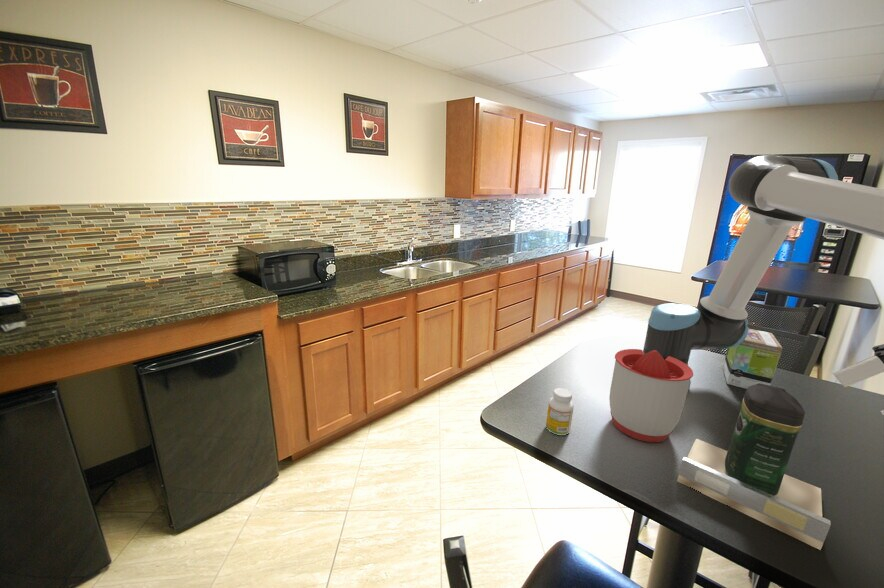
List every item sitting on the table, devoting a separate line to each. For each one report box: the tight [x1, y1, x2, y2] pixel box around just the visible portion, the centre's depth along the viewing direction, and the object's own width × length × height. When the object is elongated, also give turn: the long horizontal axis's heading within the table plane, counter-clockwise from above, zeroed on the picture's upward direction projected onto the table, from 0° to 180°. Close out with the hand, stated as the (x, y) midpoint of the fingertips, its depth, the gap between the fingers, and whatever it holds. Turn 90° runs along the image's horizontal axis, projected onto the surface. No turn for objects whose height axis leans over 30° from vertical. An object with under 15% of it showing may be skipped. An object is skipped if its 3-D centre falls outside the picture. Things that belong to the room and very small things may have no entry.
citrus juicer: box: [609, 348, 694, 443], centre depth 87 cm, size 16×17×20 cm
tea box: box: [722, 328, 783, 390], centre depth 113 cm, size 15×10×15 cm, turn 148°
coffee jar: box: [725, 383, 806, 496], centre depth 69 cm, size 10×8×19 cm
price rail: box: [678, 456, 832, 544], centre depth 65 cm, size 20×2×4 cm, turn 46°
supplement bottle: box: [545, 387, 574, 436], centre depth 85 cm, size 5×5×10 cm
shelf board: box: [676, 438, 824, 551], centre depth 71 cm, size 20×16×2 cm
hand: (860, 398), depth 62 cm, fingers open, 13 cm apart
